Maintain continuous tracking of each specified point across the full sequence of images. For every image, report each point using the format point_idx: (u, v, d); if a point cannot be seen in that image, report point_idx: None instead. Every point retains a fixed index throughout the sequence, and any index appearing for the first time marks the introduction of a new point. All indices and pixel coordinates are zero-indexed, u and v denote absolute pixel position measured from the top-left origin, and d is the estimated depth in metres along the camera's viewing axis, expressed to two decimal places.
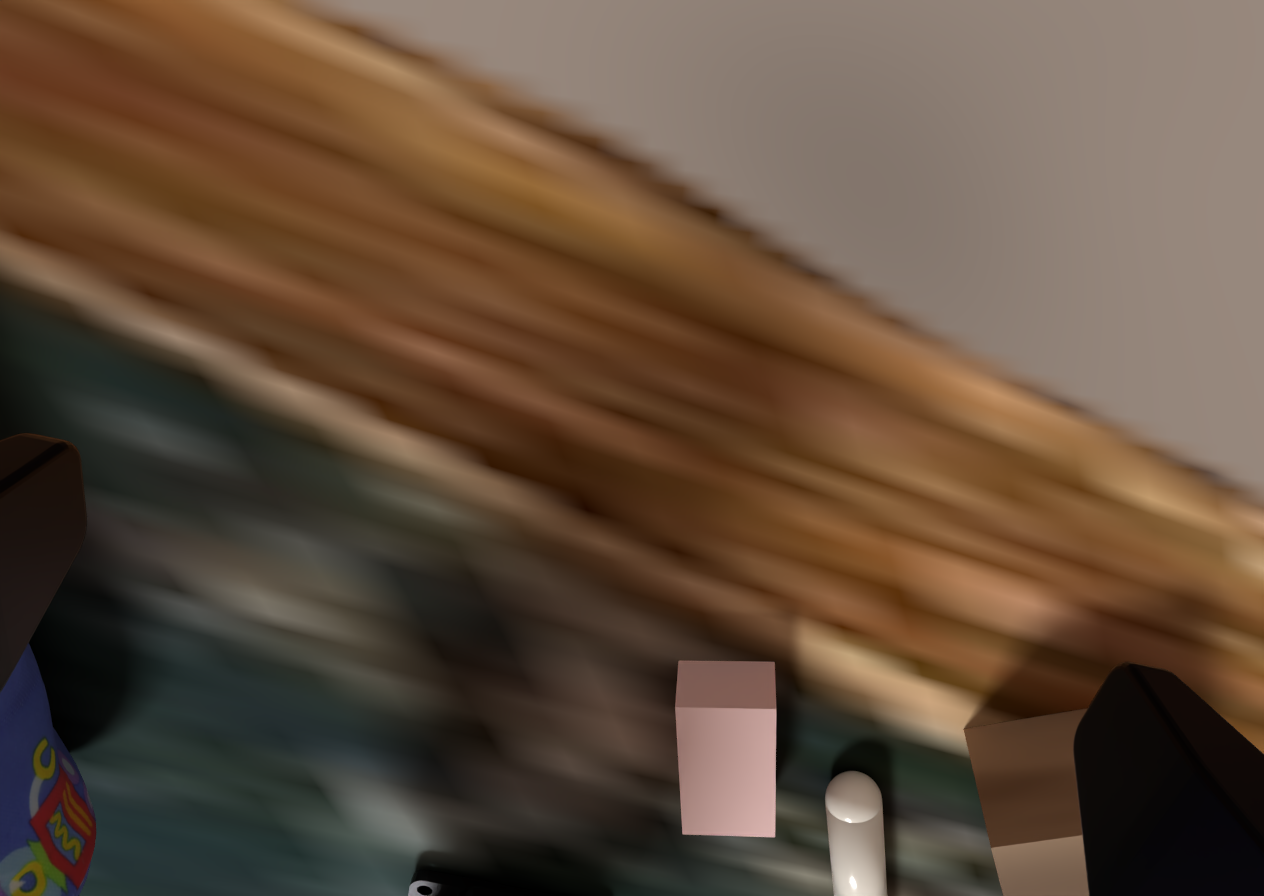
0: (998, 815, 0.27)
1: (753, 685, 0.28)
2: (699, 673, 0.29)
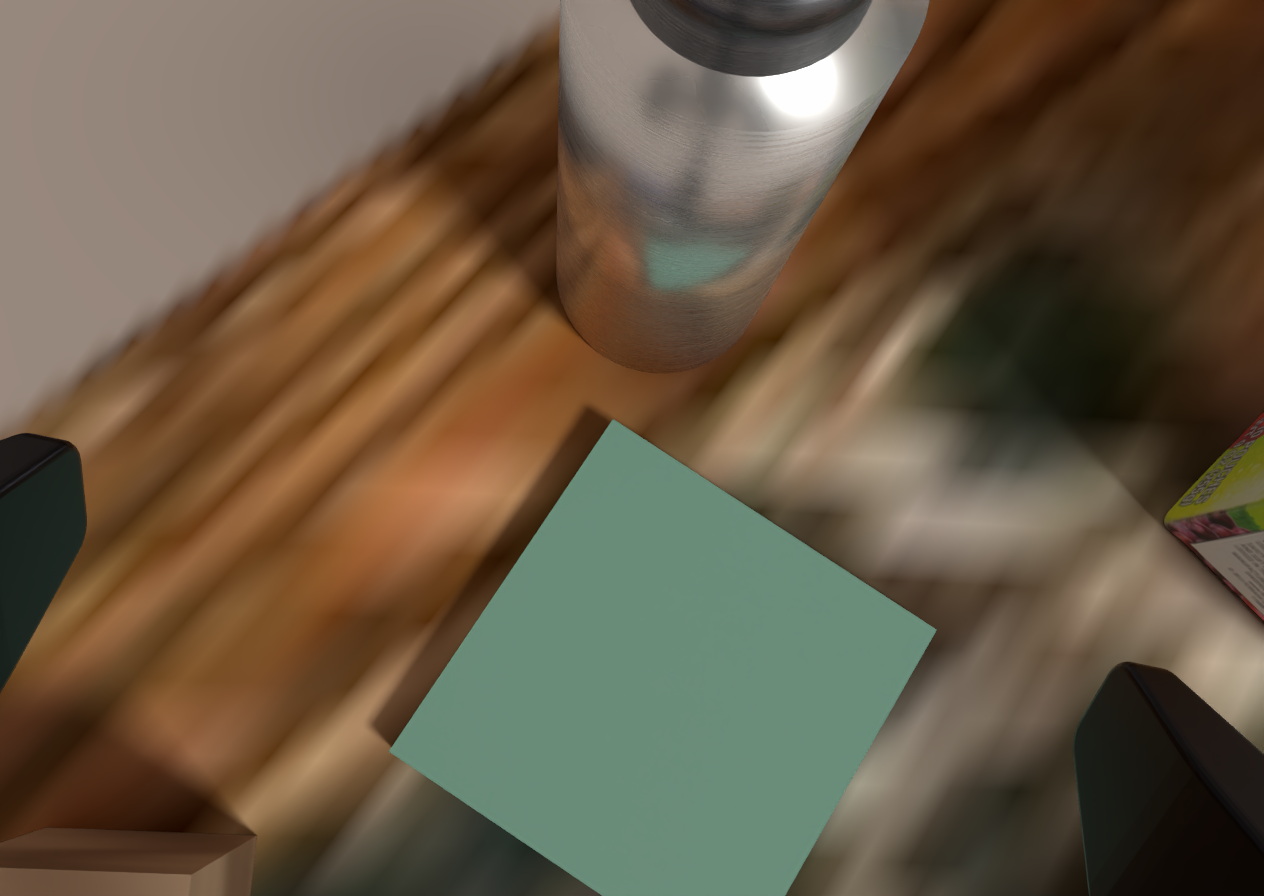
0: None
1: None
2: None
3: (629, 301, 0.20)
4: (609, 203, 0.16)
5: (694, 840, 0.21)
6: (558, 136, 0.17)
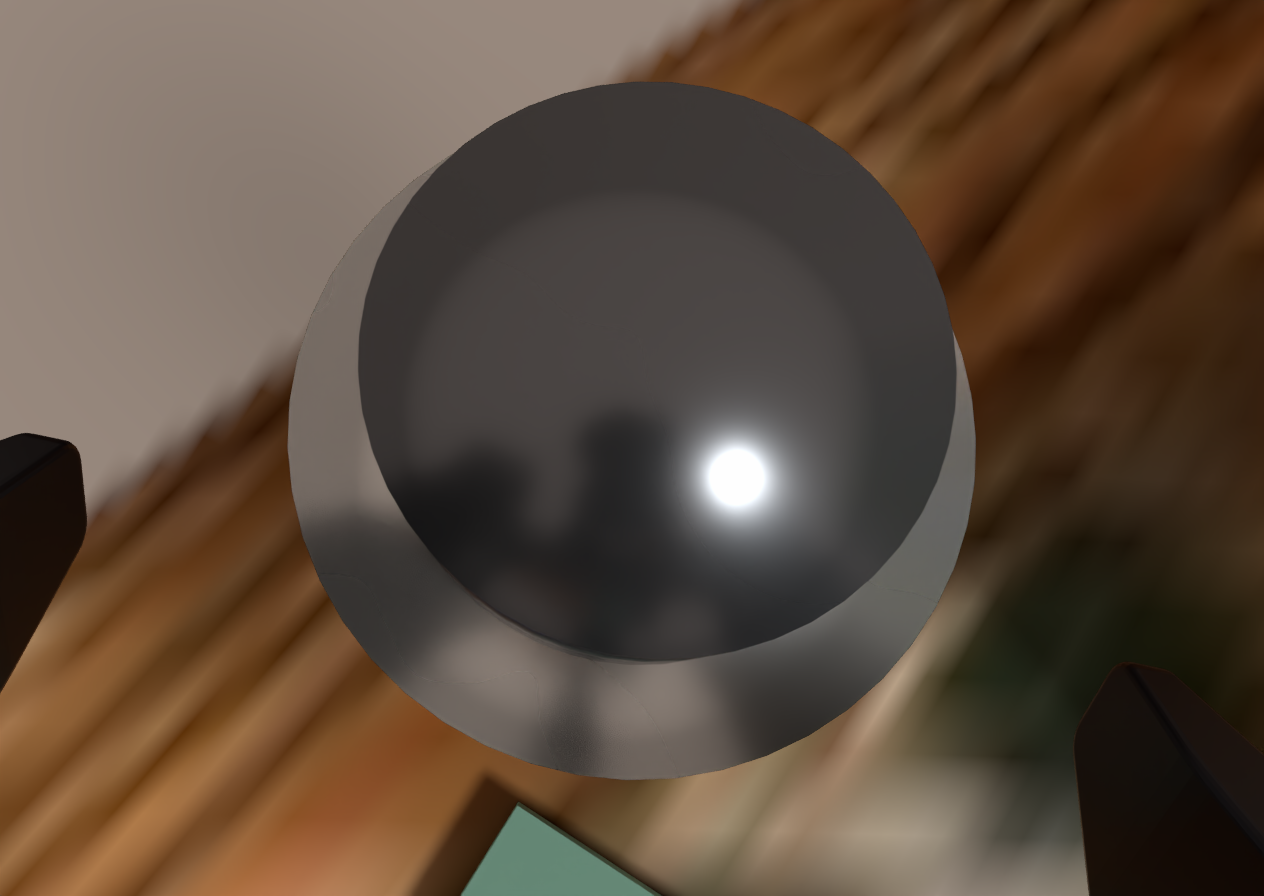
0: None
1: None
2: None
3: None
4: None
5: None
6: None
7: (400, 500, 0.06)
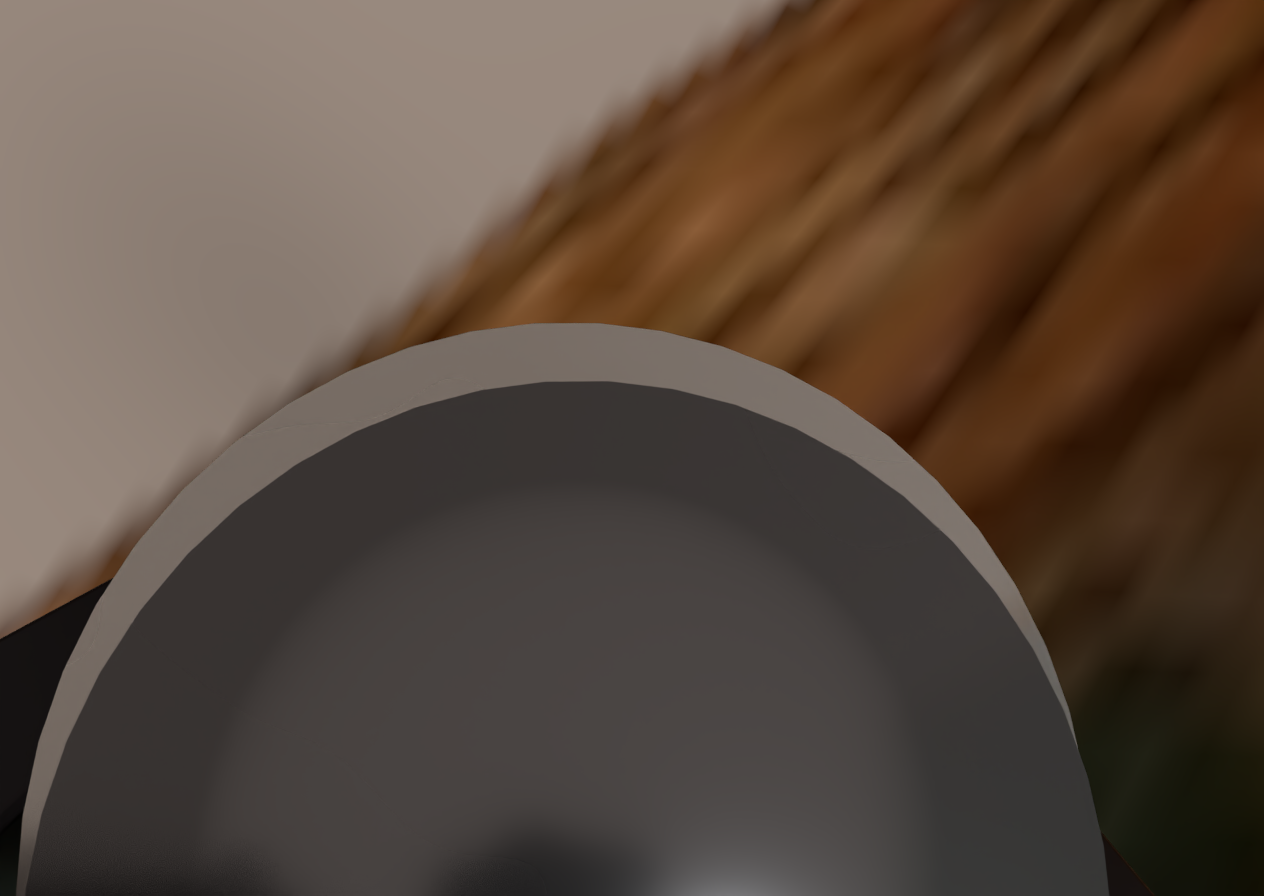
0: None
1: None
2: None
3: None
4: None
5: None
6: None
7: None
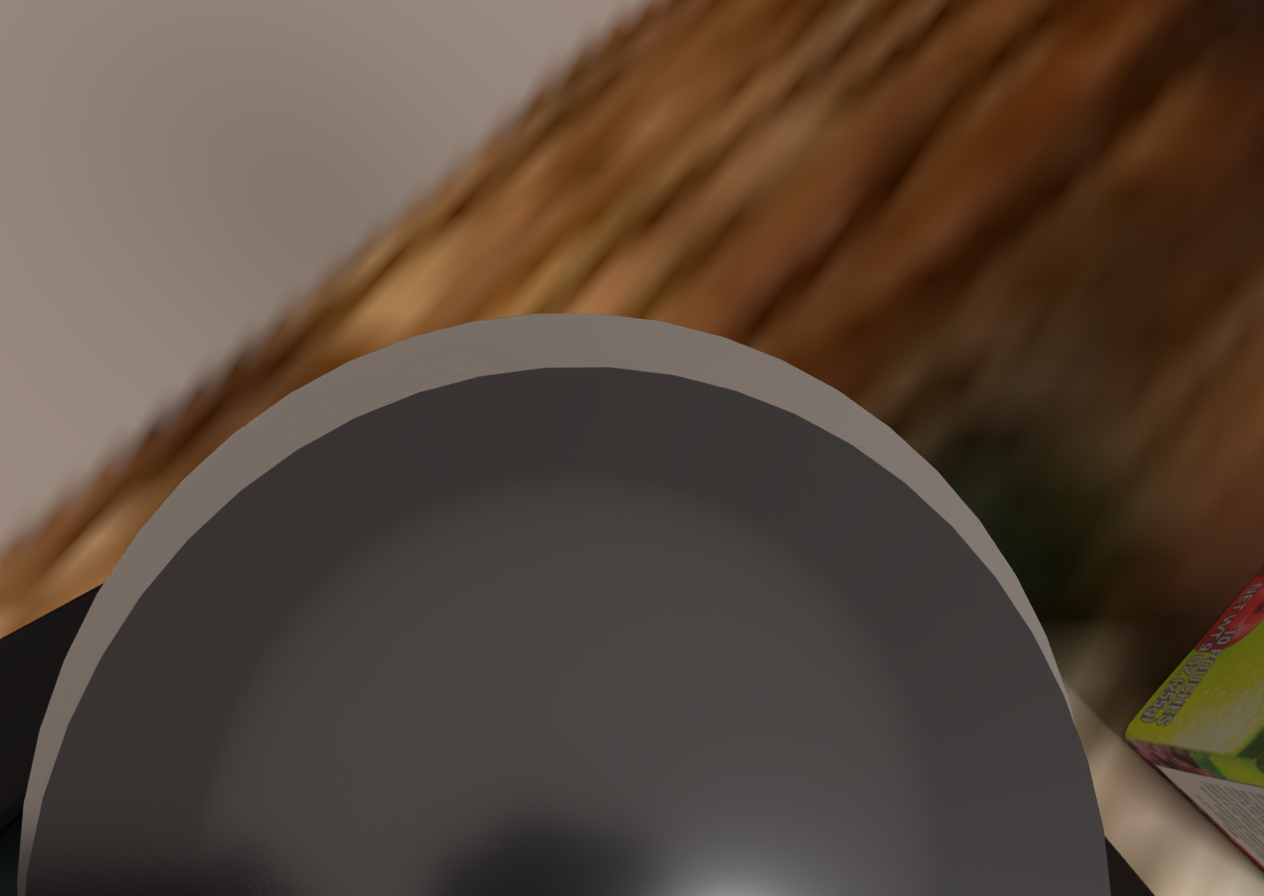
0: None
1: None
2: None
3: None
4: None
5: None
6: None
7: None
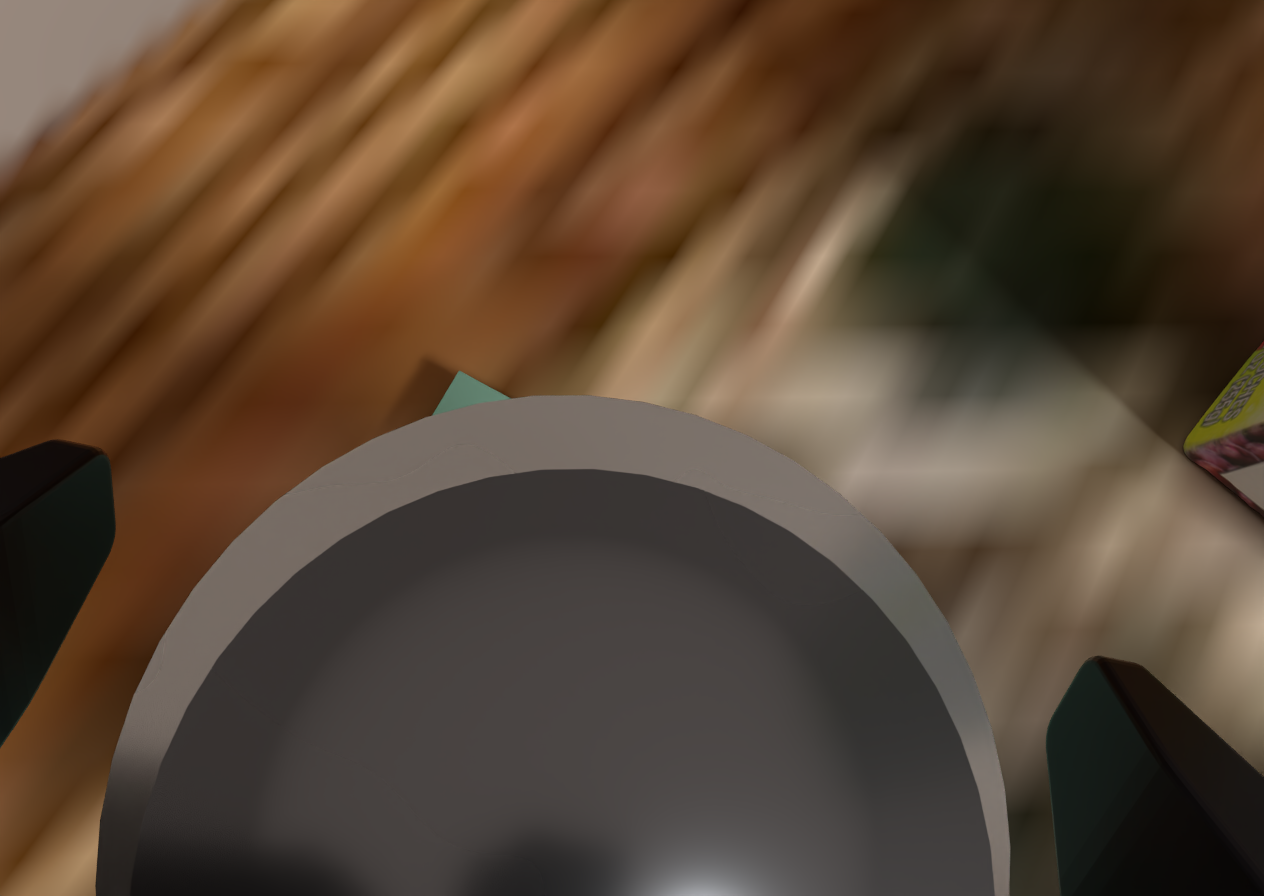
0: None
1: None
2: None
3: None
4: None
5: None
6: None
7: None
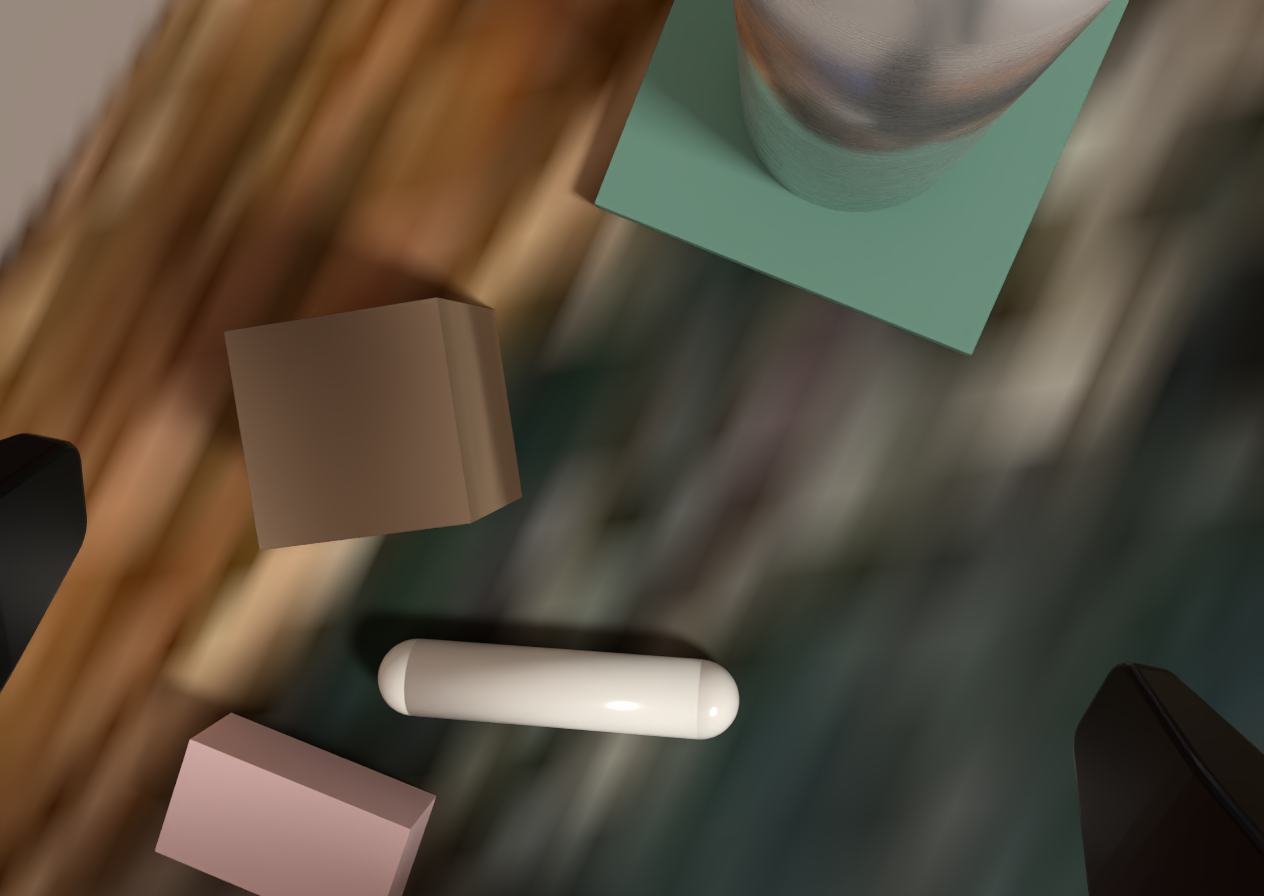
0: None
1: None
2: None
3: (835, 168, 0.17)
4: (808, 95, 0.14)
5: (910, 227, 0.21)
6: (735, 7, 0.15)
7: None
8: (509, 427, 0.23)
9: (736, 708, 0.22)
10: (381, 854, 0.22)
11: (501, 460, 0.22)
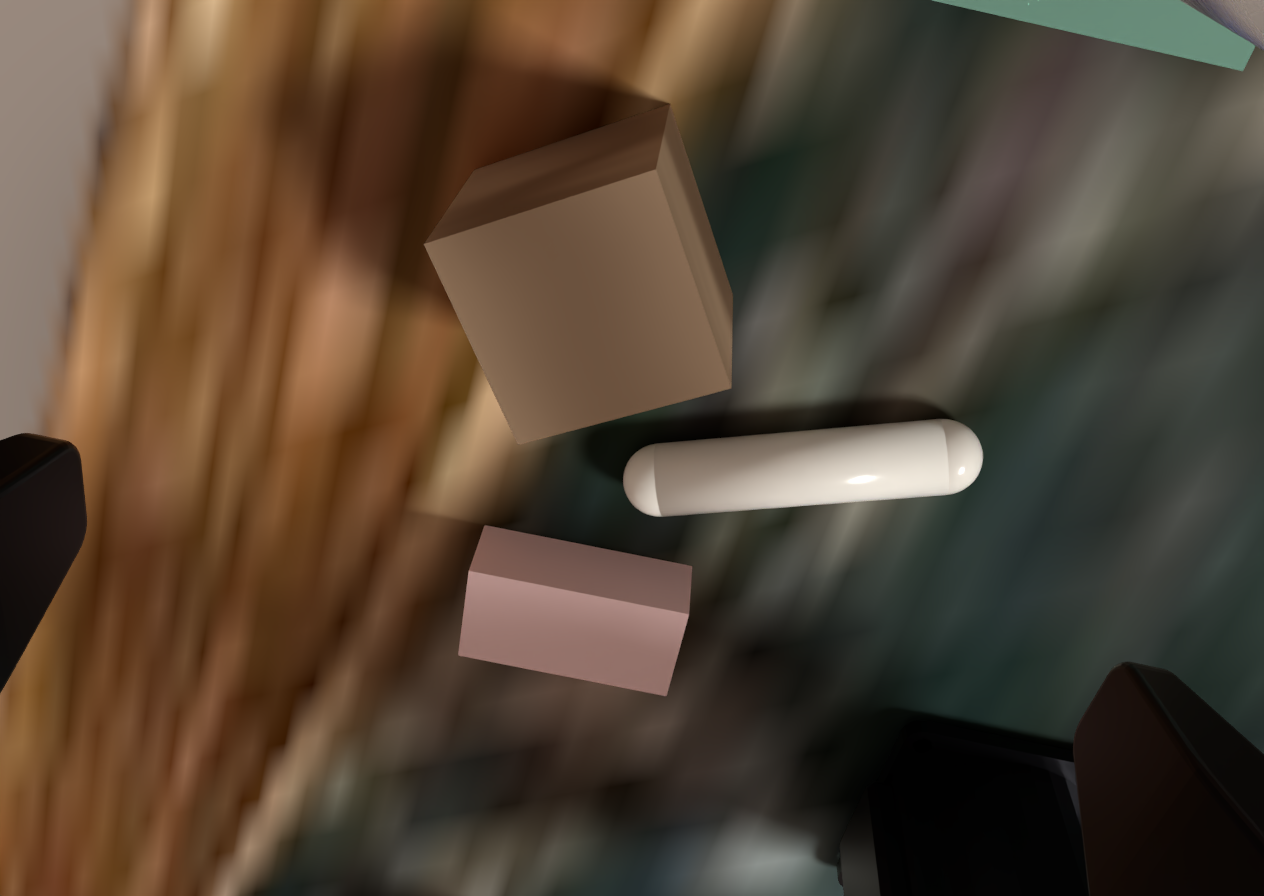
0: None
1: None
2: None
3: None
4: None
5: None
6: None
7: None
8: (710, 231, 0.21)
9: None
10: (665, 635, 0.24)
11: (718, 280, 0.20)
